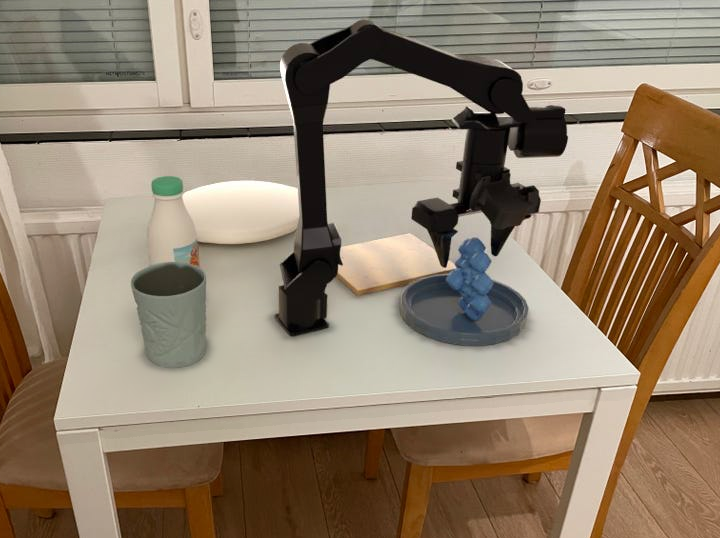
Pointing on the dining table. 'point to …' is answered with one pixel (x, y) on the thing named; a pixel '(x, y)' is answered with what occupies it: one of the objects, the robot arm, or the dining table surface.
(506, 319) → the round blue tray
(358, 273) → the bamboo board
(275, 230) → the plate
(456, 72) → the robot arm
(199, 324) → the green plant pot
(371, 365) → the dining table surface
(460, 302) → the grapes
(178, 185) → the milk bottle
